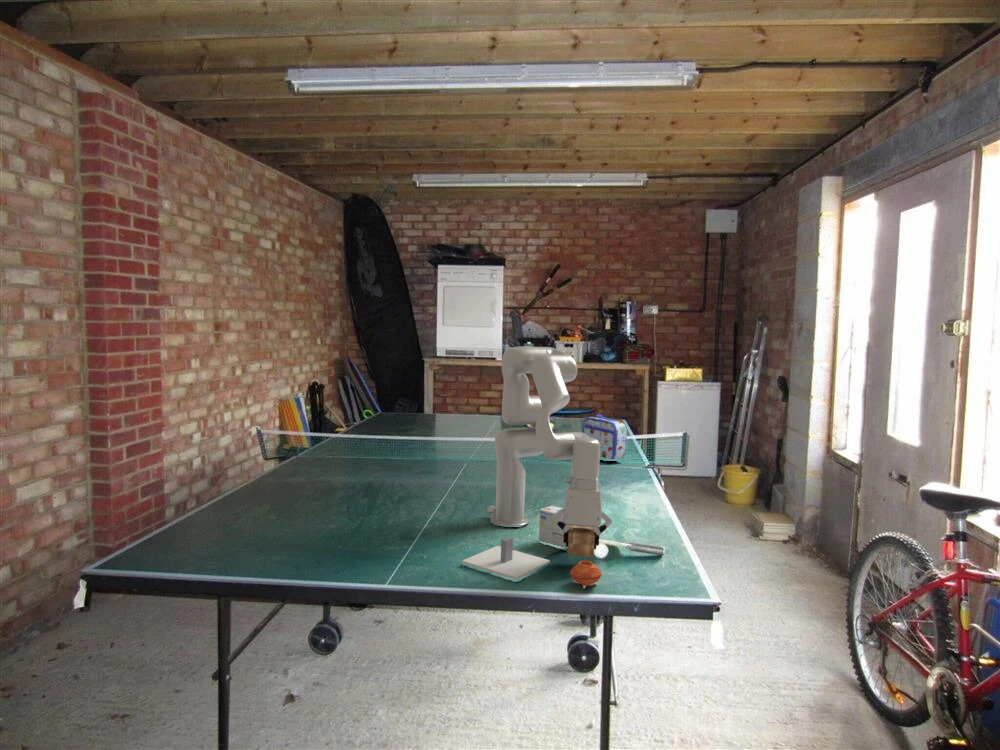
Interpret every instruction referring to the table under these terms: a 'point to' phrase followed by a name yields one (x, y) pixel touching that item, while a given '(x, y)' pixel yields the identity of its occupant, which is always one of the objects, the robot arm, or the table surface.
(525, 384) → the robot arm
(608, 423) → the lunch box
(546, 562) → the plate
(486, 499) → the table surface
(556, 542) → the light bulb box
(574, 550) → the oak collar
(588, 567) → the pot
